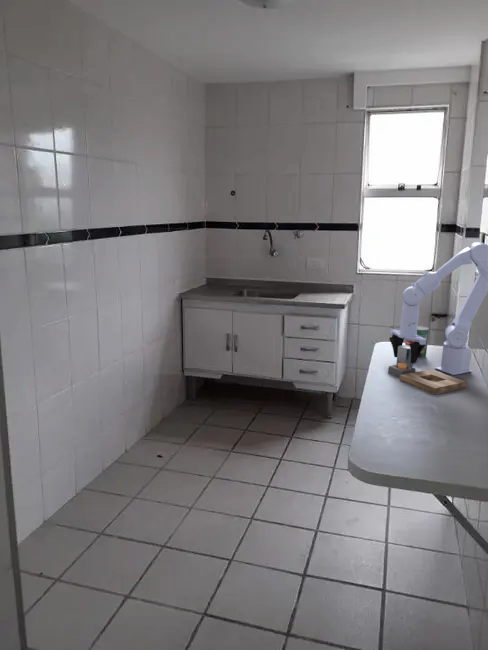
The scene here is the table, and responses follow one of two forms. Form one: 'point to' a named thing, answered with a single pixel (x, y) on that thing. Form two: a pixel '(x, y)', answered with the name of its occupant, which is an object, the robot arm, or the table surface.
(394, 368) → the button housing
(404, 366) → the button cap
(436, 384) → the wooden board
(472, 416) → the table surface
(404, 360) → the billet
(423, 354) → the canned tomato
